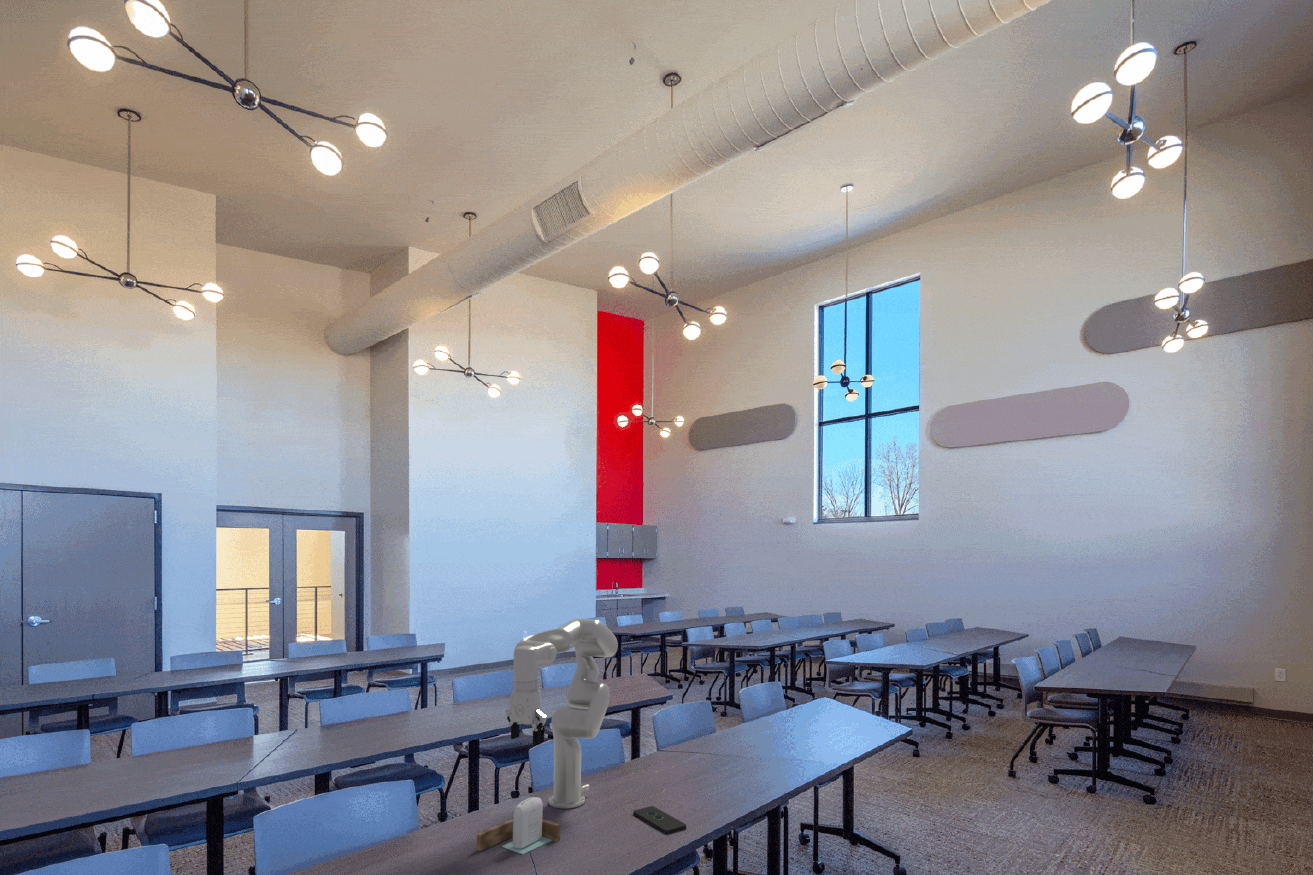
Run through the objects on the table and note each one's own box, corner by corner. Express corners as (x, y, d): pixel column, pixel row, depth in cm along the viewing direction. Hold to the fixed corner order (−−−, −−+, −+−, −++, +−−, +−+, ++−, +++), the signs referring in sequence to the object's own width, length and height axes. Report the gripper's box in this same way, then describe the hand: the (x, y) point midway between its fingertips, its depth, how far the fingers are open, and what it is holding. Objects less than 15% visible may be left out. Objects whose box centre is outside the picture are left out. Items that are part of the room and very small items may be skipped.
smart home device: (652, 804, 242) (687, 824, 225) (652, 810, 242) (687, 830, 225) (632, 810, 237) (666, 830, 221) (632, 815, 237) (666, 836, 221)
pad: (531, 833, 222) (531, 832, 222) (552, 840, 217) (552, 839, 217) (501, 846, 212) (501, 845, 212) (522, 854, 207) (522, 853, 207)
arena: (525, 828, 226) (525, 813, 226) (559, 839, 217) (559, 824, 218) (476, 849, 210) (477, 833, 211) (511, 863, 201) (511, 846, 202)
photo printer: (533, 835, 220) (534, 792, 222) (544, 837, 218) (544, 795, 220) (510, 847, 211) (511, 802, 213) (521, 850, 209) (522, 805, 211)
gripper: (498, 684, 232) (498, 739, 230) (537, 691, 222) (537, 748, 221) (514, 679, 238) (515, 733, 236) (553, 686, 229) (553, 741, 227)
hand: (525, 740), depth 229 cm, fingers open, 9 cm apart
